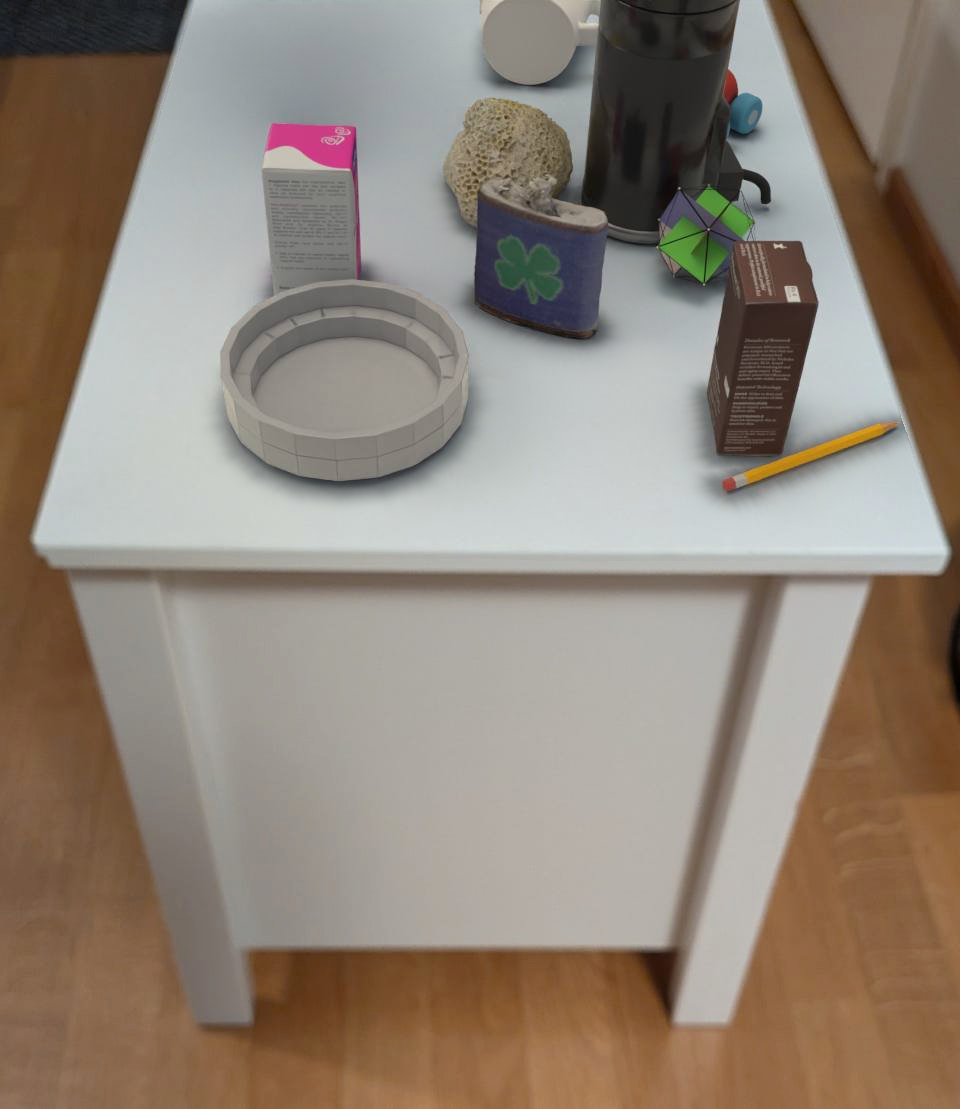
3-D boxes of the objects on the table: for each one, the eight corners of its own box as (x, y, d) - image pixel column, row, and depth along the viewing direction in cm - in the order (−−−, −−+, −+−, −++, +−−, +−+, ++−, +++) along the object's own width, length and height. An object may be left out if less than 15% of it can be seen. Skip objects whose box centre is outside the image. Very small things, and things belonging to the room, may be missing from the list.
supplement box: (360, 319, 86) (350, 170, 78) (274, 317, 86) (254, 169, 78) (365, 268, 90) (356, 122, 81) (283, 267, 90) (265, 120, 81)
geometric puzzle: (687, 170, 82) (620, 262, 87) (769, 235, 82) (697, 323, 87) (715, 145, 88) (650, 232, 93) (791, 206, 88) (722, 290, 93)
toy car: (765, 125, 104) (789, 7, 97) (700, 165, 100) (720, 44, 93) (679, 85, 109) (696, -31, 101) (613, 121, 104) (625, 3, 97)
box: (700, 394, 82) (731, 237, 73) (769, 395, 82) (809, 238, 73) (710, 458, 78) (745, 300, 69) (783, 460, 78) (827, 302, 69)
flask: (602, 323, 86) (617, 186, 78) (585, 347, 85) (598, 210, 77) (483, 284, 89) (486, 148, 81) (464, 307, 87) (465, 170, 79)
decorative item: (618, 185, 90) (498, 147, 86) (558, 273, 96) (443, 242, 92) (579, 83, 97) (465, 43, 92) (525, 171, 103) (416, 138, 98)
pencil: (726, 478, 75) (730, 489, 75) (902, 414, 79) (906, 424, 79) (720, 482, 76) (725, 492, 76) (895, 418, 80) (899, 428, 80)
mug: (470, 81, 108) (472, -12, 102) (483, 30, 114) (485, -59, 108) (609, 92, 108) (619, 0, 102) (614, 40, 114) (624, -49, 108)
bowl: (449, 319, 86) (449, 271, 83) (483, 473, 76) (484, 425, 73) (226, 337, 85) (218, 288, 82) (231, 497, 75) (222, 449, 72)
